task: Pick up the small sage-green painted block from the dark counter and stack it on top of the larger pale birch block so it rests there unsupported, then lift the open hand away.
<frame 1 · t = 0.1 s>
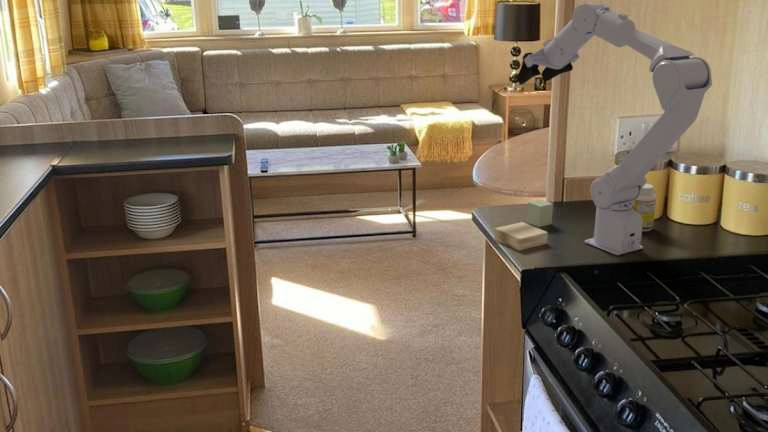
hand: (531, 79, 183), 32 cm above the counter, tool tilted 50°, fingers open, 7 cm apart
supplement bottle: (639, 229, 181), on the counter
sage block: (539, 223, 184), on the counter
birch base: (520, 243, 173), on the counter
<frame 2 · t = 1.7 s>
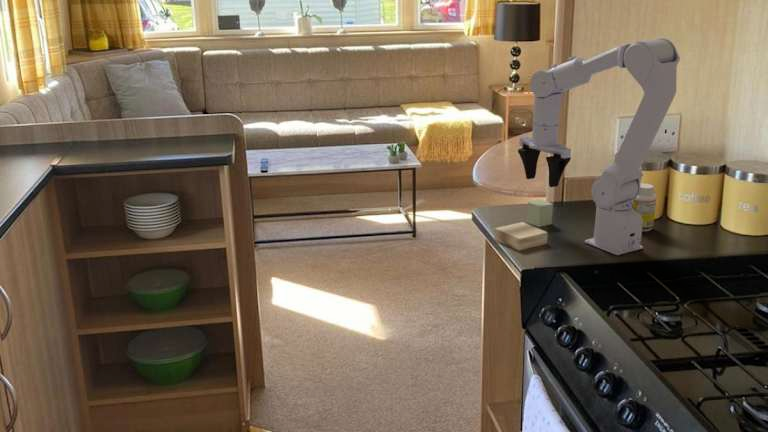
hand: (541, 182, 181), 10 cm above the counter, tool pointing down, fingers open, 7 cm apart
nothing on the counter moved.
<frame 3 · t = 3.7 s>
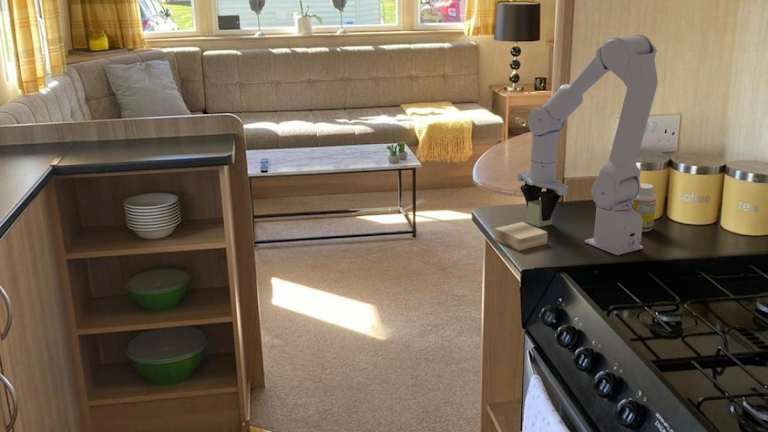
hand: (539, 217, 184), 1 cm above the counter, tool pointing down, fingers closed on sage block, 4 cm apart
sage block: (539, 223, 184), on the counter, touching gripper
everything else where it was.
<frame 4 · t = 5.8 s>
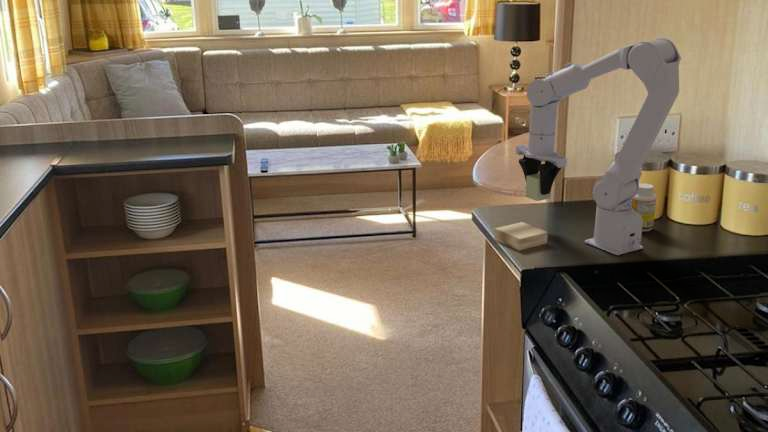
hand: (538, 191, 179), 8 cm above the counter, tool pointing down, fingers closed on sage block, 4 cm apart
sage block: (537, 197, 180), point 7 cm above the counter, touching gripper
everything else where it was.
when the fingers open (5 cm above the counter, at t = 8.3 s): sage block drops 1 cm, point 3 cm above the counter.
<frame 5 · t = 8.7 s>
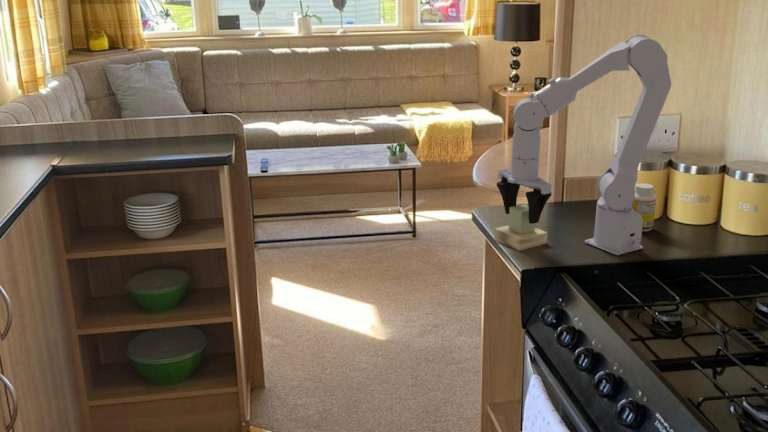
hand: (521, 217, 171), 5 cm above the counter, tool pointing down, fingers open, 7 cm apart
sage block: (521, 230, 172), point 3 cm above the counter
everything else where it was.
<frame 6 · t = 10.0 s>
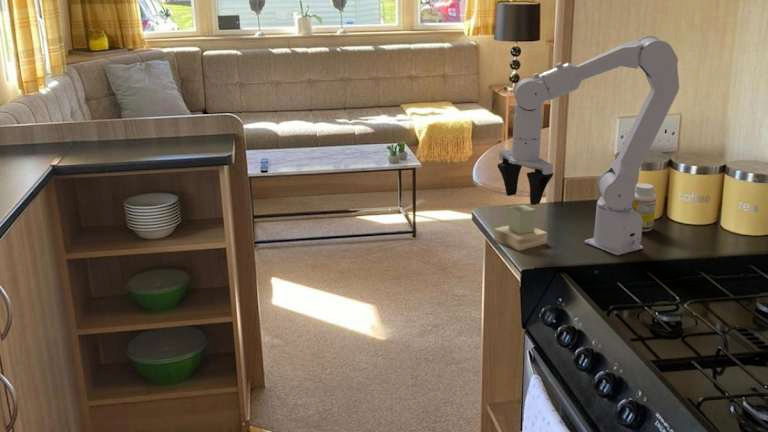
hand: (523, 199, 169), 10 cm above the counter, tool pointing down, fingers open, 7 cm apart
nothing on the counter moved.
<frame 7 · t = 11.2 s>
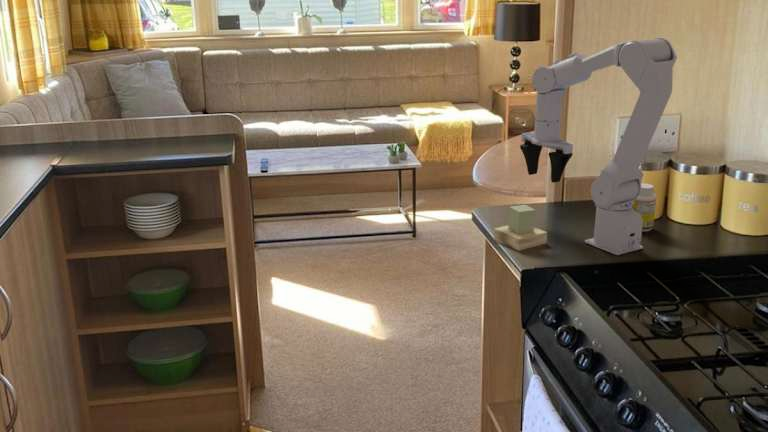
hand: (543, 177, 183), 10 cm above the counter, tool pointing down, fingers open, 7 cm apart
sage block: (520, 230, 172), point 3 cm above the counter, touching birch base
birch base: (519, 243, 173), on the counter, touching sage block
everything else where it was.
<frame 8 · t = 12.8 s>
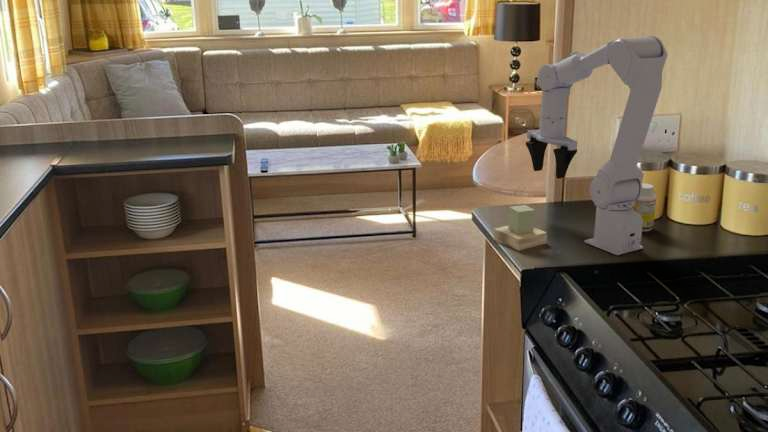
hand: (549, 174, 186), 10 cm above the counter, tool pointing down, fingers open, 7 cm apart
nothing on the counter moved.
at the end: sage block 0.1 cm off-centre on the birch base, point 3.1 cm above the birch base's base; sage block tilted 1°; the gripper is holding nothing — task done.
